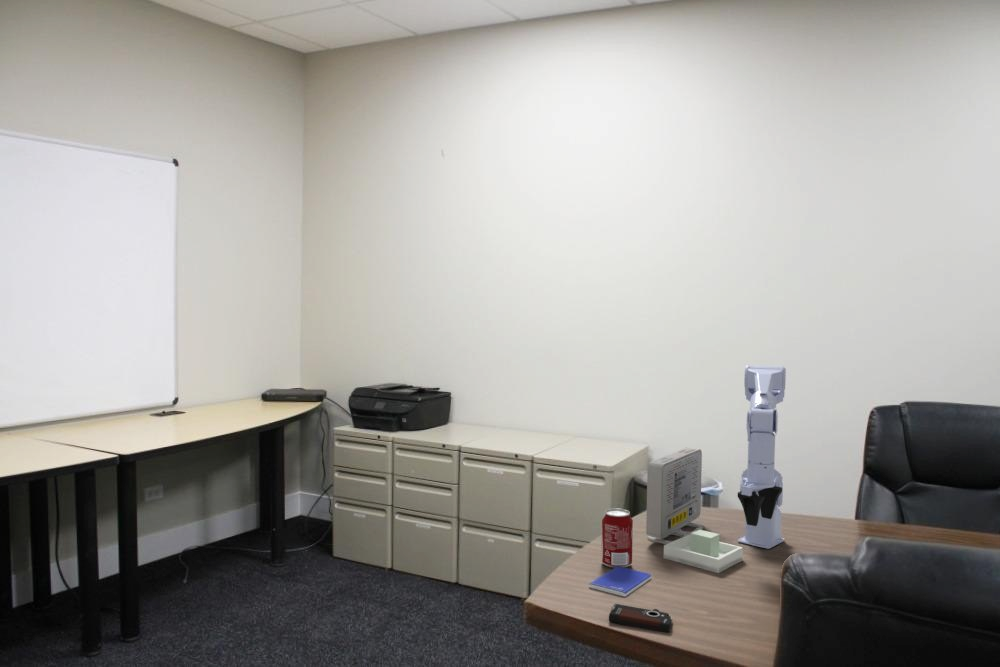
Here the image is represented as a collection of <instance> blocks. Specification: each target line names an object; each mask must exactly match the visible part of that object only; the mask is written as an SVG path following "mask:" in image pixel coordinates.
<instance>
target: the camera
mask: <svg viewBox="0 0 1000 667" xmlns="http://www.w3.org/2000/svg"><path fill="white" fill-rule="evenodd" d="M673 619H674V618H673V616H672V615H669V613H668V612H664V611H660V610H659V609H658V608H654V609H647V608H640V607H635V606H631V605H630V606H629V605H624V604H619V603H612V605H611V609H610V612H609V615H608V621H609V622H611V623H616V624H619V625H620V626H626V627H632V628H638V629H644V630H648V631H649V630H650V631H655V632H665V633H670V631H671V630H672V625H673V624H672V623H673Z"/></svg>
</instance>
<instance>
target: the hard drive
mask: <svg viewBox="0 0 1000 667" xmlns="http://www.w3.org/2000/svg"><path fill="white" fill-rule="evenodd" d="M651 579H652V574H651V573H648V572H644V571H639V570H636V569H632V568H631V569H630V568H628V567H626V568H623V567H619V566H618V567H616V568H612V569H611V570H609V571H608V572H606V573H604V574H603V575H600V577H597V578H596V579H594V580H593V581H591V582H589V584H588V587H589V589H594V590H598V591H600V592H601V591H602V592H606V593H610V594H614V595H617V596H622V597H623V598H624V597H627V596H628V595H629V594H631V593H633V592H634V591H636V590H637V589H638V588H640V587H641V586H643V585H644V584H646V583H647V582H648V581H649V580H651Z"/></svg>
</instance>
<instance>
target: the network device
mask: <svg viewBox="0 0 1000 667" xmlns="http://www.w3.org/2000/svg"><path fill="white" fill-rule="evenodd" d="M702 462H703V454H702V449H701V448H692V447H685V448H682V449H679V450H676V451H675V452H672V453H669V454H666V455H664V456H662V457H659V458H656V459H654V460H652V461H649V463H648V465H647V470H646V471H647V475H646V479H647V480H646V481H647V482H646V486H647V487H646V527H645V528H646V530H645V533H646V536H647V540H648V541H650V542H653V543H658V544H662V545H666V544H668V543H671V542H673V541H674V540H673V541H672V540H667V539H665V538H667V537H669V536H670V535H671V536H677V537H680V538H682V537H684V536H687V535H689V534H690V535H691V533H693V532H695V531H697V530H703V525H701V524H699V523H695V522H693V521H695V520H697V519H698V518H700V516H701V510H702V509H701V506H702V505H701V503H702V500H701V499H702V466H703V465H702ZM685 526H687V527H692V528H695V529H694V530H691V531H685V530H682V528H683V527H685Z"/></svg>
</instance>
